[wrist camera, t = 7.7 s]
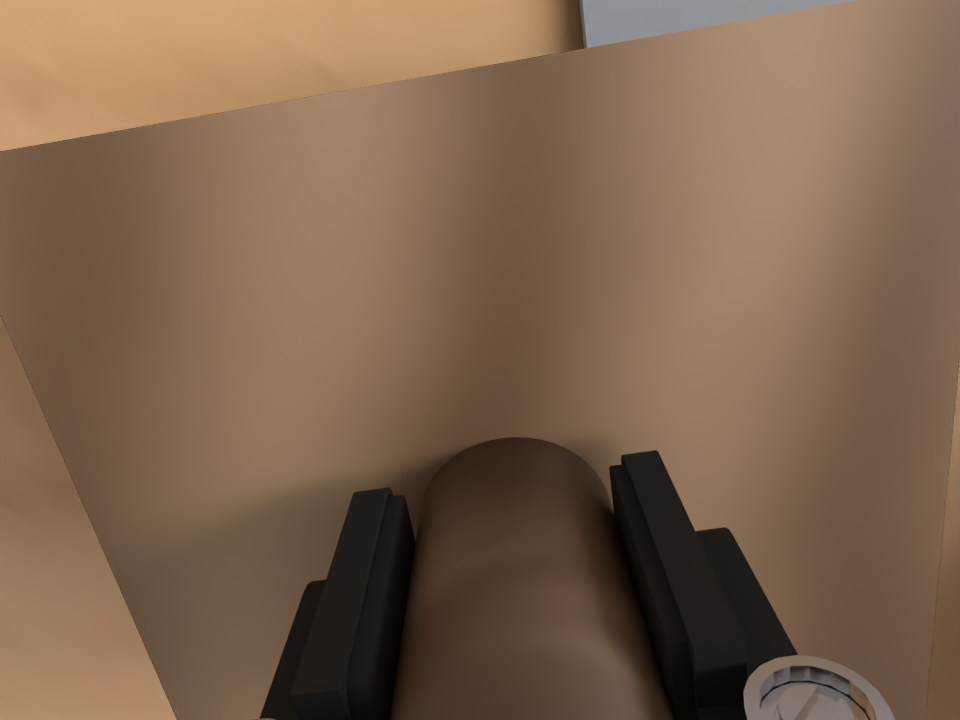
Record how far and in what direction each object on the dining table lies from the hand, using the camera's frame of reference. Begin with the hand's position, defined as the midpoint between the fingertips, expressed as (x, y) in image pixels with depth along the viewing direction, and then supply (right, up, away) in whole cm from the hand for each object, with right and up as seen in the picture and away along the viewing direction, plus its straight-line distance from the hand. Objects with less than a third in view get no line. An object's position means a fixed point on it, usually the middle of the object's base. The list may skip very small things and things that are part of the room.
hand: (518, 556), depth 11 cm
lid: (0, +1, +2) cm, 2 cm away
